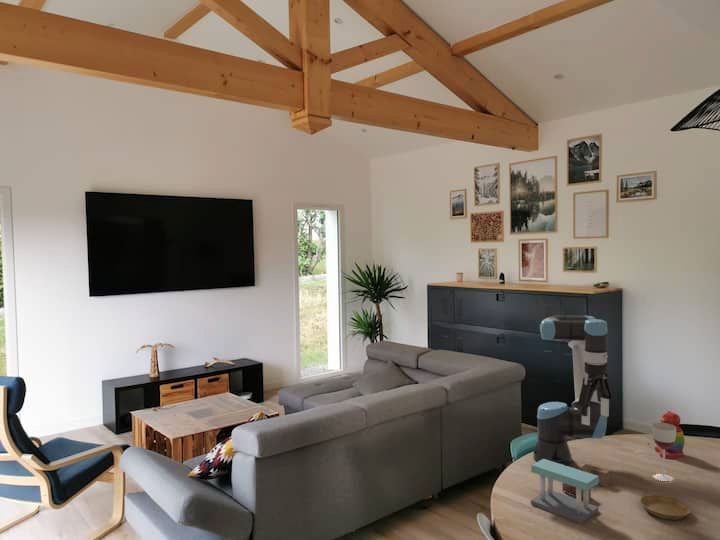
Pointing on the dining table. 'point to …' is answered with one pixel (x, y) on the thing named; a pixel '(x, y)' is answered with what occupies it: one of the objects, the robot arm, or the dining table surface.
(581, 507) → the peg stand
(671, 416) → the stacking bear
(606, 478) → the blocks
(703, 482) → the dining table surface
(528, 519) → the dining table surface
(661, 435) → the wineglass
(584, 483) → the shelf board
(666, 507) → the plant saucer
